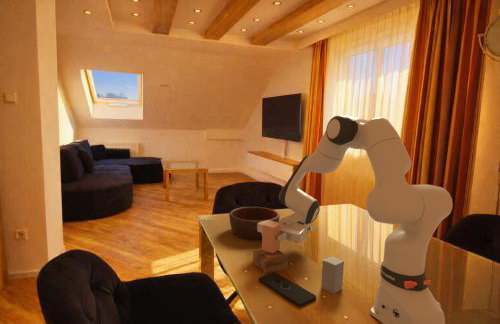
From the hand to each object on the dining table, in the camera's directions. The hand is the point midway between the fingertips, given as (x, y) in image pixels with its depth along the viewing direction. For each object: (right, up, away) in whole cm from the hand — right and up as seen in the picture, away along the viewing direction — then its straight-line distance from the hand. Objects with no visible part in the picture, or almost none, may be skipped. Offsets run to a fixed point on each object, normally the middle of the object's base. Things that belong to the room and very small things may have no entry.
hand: (270, 236), depth 123 cm
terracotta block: (0, -5, +2) cm, 6 cm away
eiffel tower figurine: (+22, -7, +47) cm, 52 cm away
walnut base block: (0, -12, +2) cm, 12 cm away
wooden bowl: (-6, -7, +38) cm, 39 cm away
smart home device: (+4, -15, -15) cm, 22 cm away
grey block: (+20, -15, -13) cm, 28 cm away
